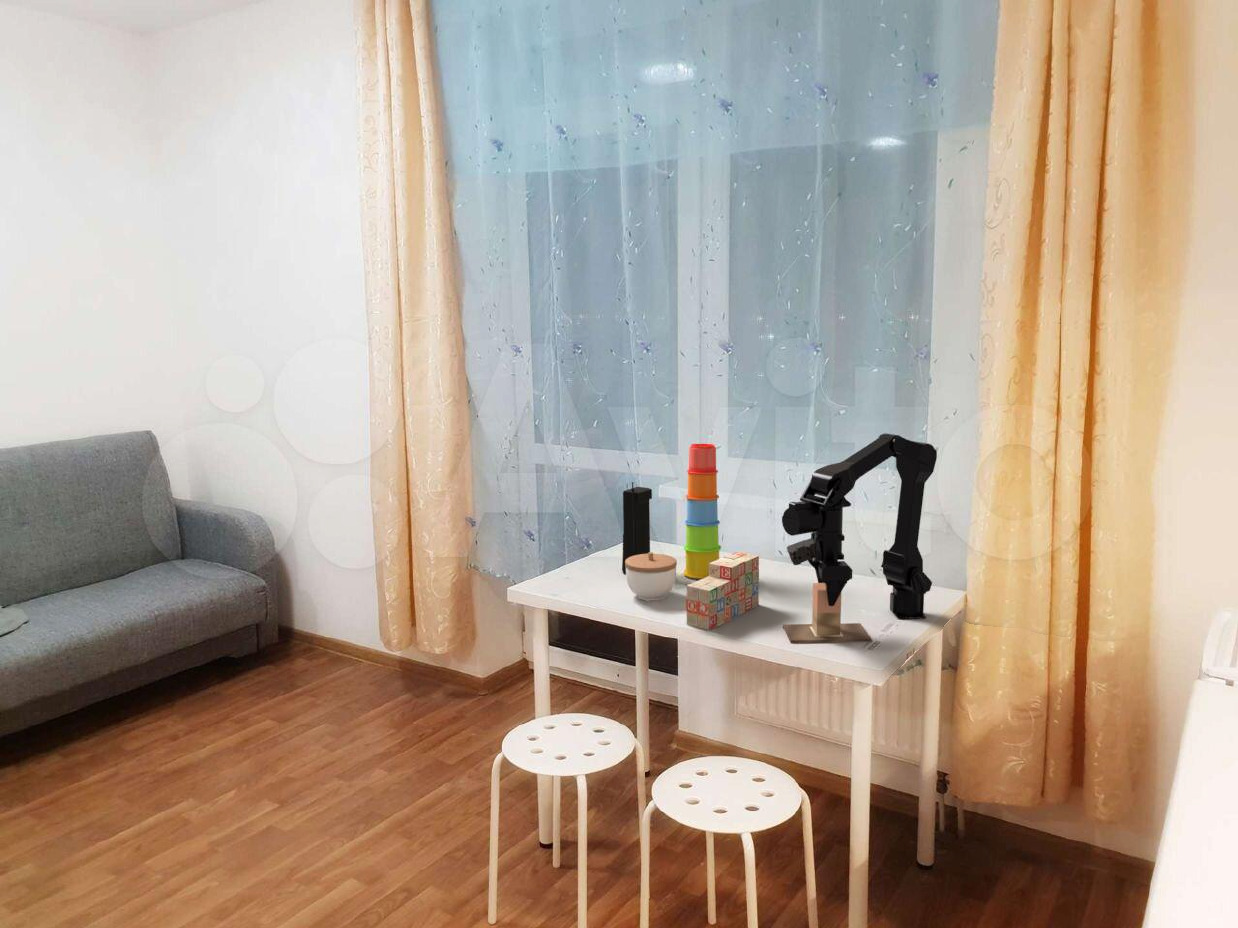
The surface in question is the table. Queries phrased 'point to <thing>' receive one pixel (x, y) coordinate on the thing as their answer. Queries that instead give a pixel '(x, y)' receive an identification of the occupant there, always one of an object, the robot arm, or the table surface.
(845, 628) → the brown flat panel
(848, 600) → the table surface
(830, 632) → the oak cube
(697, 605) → the stack of blocks
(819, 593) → the terracotta cube
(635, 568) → the lidded bowl
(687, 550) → the stacking cups
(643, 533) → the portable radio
